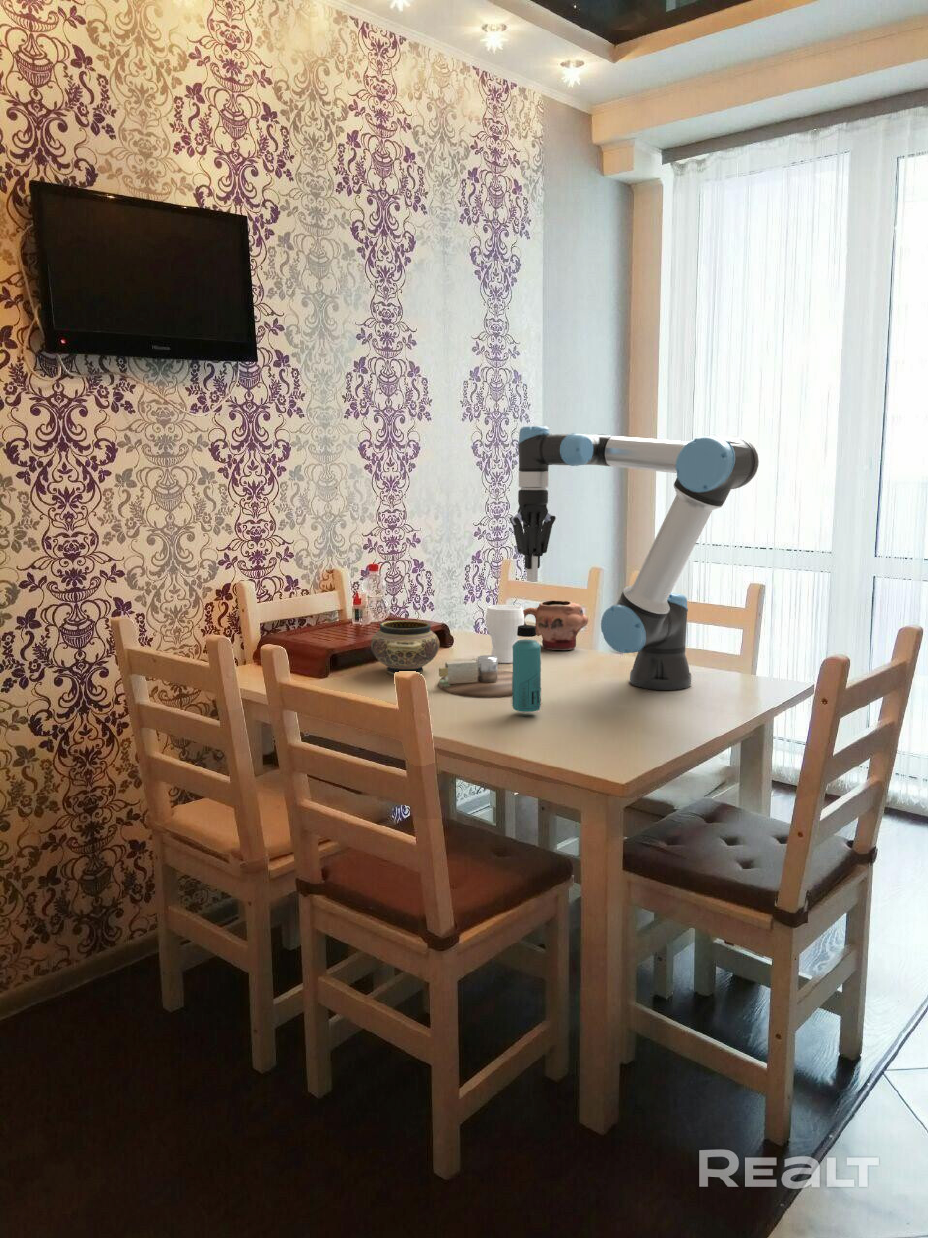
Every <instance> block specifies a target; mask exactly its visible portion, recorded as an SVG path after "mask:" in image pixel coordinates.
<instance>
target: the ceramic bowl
mask: <svg viewBox="0 0 928 1238" xmlns="http://www.w3.org/2000/svg"><path fill="white" fill-rule="evenodd" d="M431 628H432V625H431V623H430V622H426V621H420V620H409V619H408V620H407V619H406V620H403V619H402V620H400V619H394V620H387V621H383V622H380V623H379V630H378V631H377V632H375V633H374V634H373V635H372V638H371V641H370V647H371V651H372V653H373V655H374V657H375V658H376V659H377V661H379V662H380V663H381V664H383V665H384V666H386V667H387V669H386V670H387V671H386V672H387V673H389V674H391V675H394V673H395V672H399V671H416V672H420V673H419V674H421V673H423V672H424V667H425V666H426V665H428V664H429V663H430V662H432V661H433V660H434V659H435V657H436V656H437V654H438V653H439V649H440V644H441V643H440V640H439V638H438V635H437V634H436V633H434V631H432V630H431Z"/></svg>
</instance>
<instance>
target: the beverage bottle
mask: <svg viewBox="0 0 928 1238" xmlns="http://www.w3.org/2000/svg"><path fill="white" fill-rule="evenodd" d="M517 635H518V636H519V637H520V638H521V637H522V638H525V639H518V641H517V642H516V643H515V644H514V645H513V646H512V648H513V663H512V672H513V673H512V674H513V675H512V696H511V704H512V705H511V706H512V709H513V710H514V711H517V712H523V713H531V712H532V713H533V712H538V711H539V710H540V709H541V706H542V705H541V704H542V702H541V701H542V696H541V695H542V687H541V686H542V681H541V680H542V678H541V676H542V675H541V672H542V660H541V650H542V649H541V648H542V647H541V644H540V643H539V642H538V641H537V640H534V639H526V638H532V637H536V636H537V635H536V627H535V625H531V624H526V625H521V626H518V632H517Z"/></svg>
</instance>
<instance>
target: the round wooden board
mask: <svg viewBox="0 0 928 1238" xmlns="http://www.w3.org/2000/svg"><path fill="white" fill-rule="evenodd" d="M512 673H513V671H512V670H511V671H510V670H501V669H498V676H497V681H496V682H491V683H485V682H479V681H478V680H477V682H472V683H458V684H447V683H446V682H445V677H440V679H439V682H438V684H439V688H440V689H441V690H443V691H444V692H448V693H450V694H453V695H459V696H463V697H474V698H502V697H503V698H505V697H512V675H513V674H512Z"/></svg>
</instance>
